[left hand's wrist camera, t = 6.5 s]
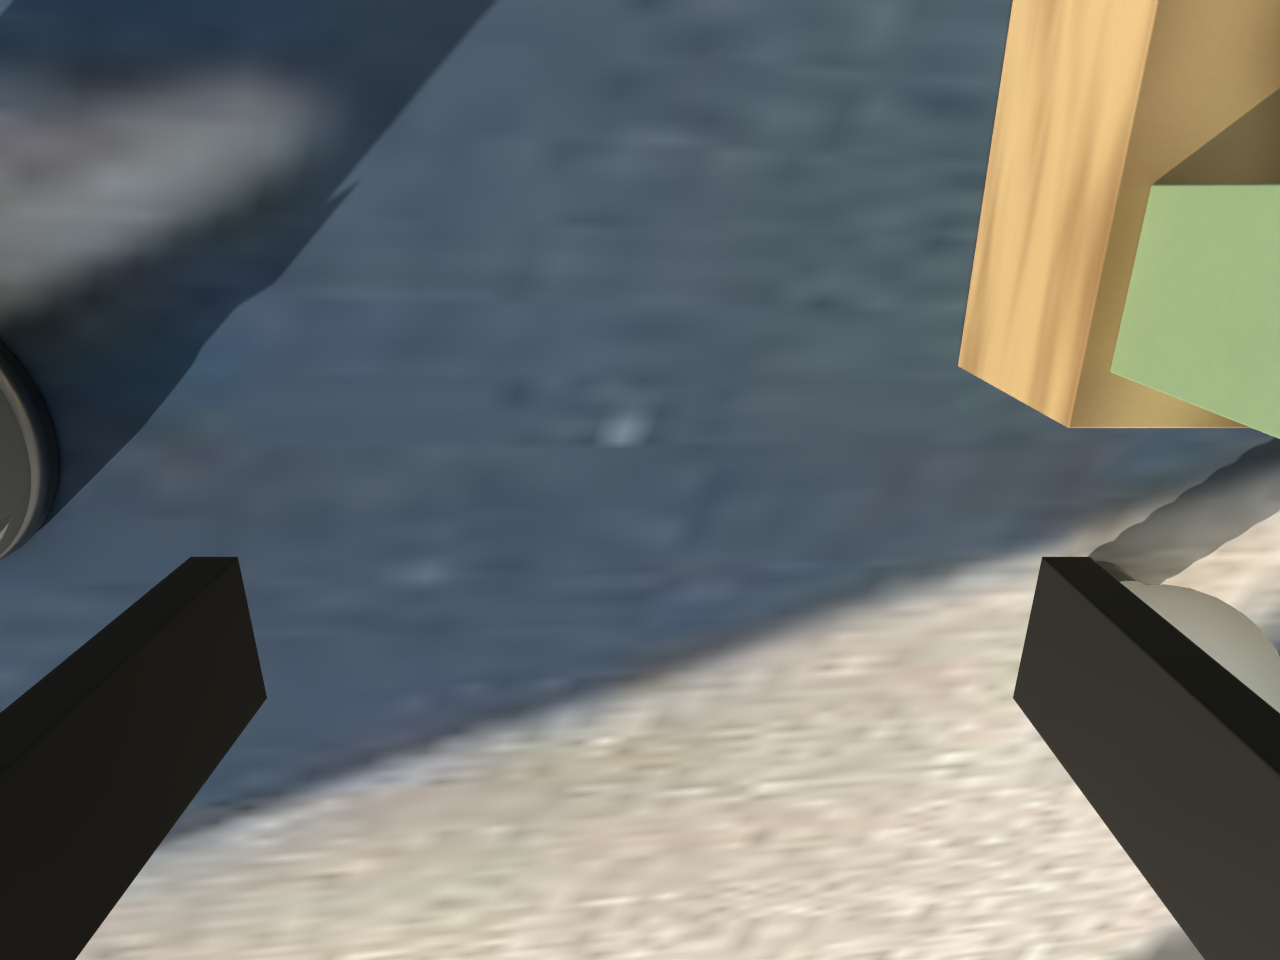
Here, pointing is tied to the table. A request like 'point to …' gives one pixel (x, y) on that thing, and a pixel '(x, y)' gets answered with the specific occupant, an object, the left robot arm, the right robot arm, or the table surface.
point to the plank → (1106, 184)
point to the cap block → (1208, 301)
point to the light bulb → (1214, 632)
